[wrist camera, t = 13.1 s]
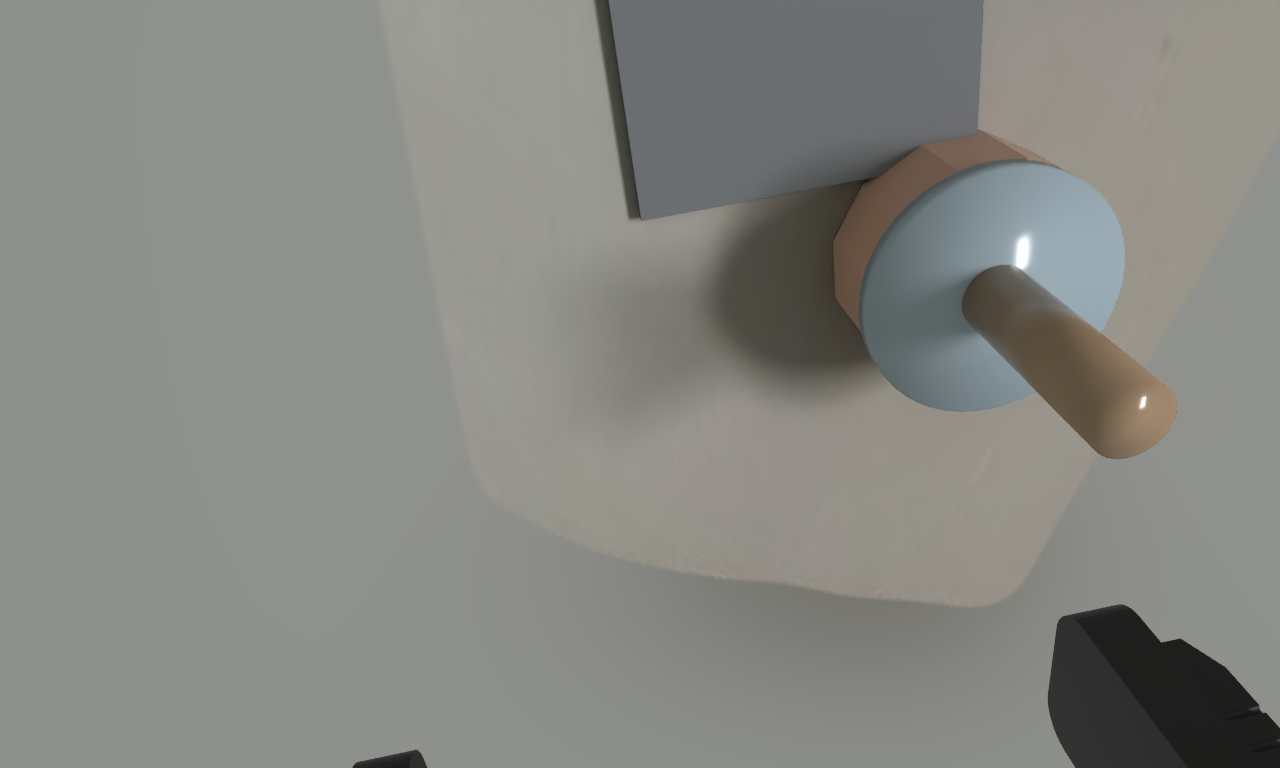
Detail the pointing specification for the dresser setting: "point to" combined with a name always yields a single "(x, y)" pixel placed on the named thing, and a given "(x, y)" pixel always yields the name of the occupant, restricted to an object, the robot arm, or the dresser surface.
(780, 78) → the mat
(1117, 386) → the lid
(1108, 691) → the robot arm
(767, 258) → the dresser surface
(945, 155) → the bowl
